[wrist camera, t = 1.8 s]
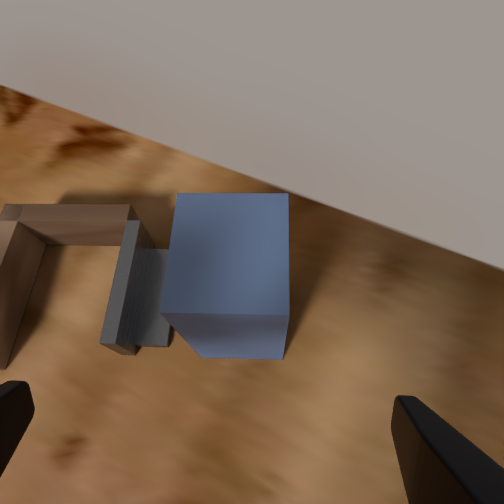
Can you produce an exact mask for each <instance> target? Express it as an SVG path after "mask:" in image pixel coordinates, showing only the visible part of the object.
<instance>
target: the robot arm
mask: <svg viewBox="0 0 504 504" xmlns="http://www.w3.org/2000/svg"><path fill="white" fill-rule="evenodd" d="M34 411H35V407H34V403H33V399H32V395H31V391H30V387H29V384H28V383H27V382H25V381H7V382H5V383H3V384H1V385H0V477H1V475H2V473H3V472H4V470H5V468H6V466H7V464H8V463H9V461H10V459H11V457H12V455H13V453H14V451H15V450H16V448H17V446H18V444H19V442H20V440H21V438H22V437H23V435H24V433H25V431H26V429H27V427H28V425H29V424H30V422H31V420H32V418H33V415H34ZM391 431H392V436H393V441H394V445H395V449H396V453H397V457H398V461H399V466H400V470H401V474H402V478H403V482H404V486H405V490H406V494H407V498H408V502H409V504H504V468H502V467H501V466H500V465H499V464H498V463H496V462H495V461H494V460H493V459H491V458H490V457H489V456H488V455H486V454H485V453H484V452H483V451H482V450H480V449H479V448H478V447H477V446H475V445H474V444H473V443H472V442H471V441H469V440H468V439H467V438H466V437H464V436H463V435H462V434H461V433H459V432H458V431H457V430H456V429H455V428H453V427H452V426H451V425H450V424H448V423H447V422H446V421H445V420H443V419H442V418H441V417H440V416H439V415H437V414H436V413H435V412H434V411H432V410H431V409H430V408H429V407H427V406H426V405H425V404H424V403H423V402H421V401H420V400H419V399H418V398H416V397H414V396H405V395H398V396H397V397H396V398H395V400H394V407H393V413H392V420H391Z"/></svg>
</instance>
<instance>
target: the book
mask: <svg viewBox="0 0 504 504" xmlns="http://www.w3.org/2000/svg"><path fill="white" fill-rule="evenodd" d="M159 313H160V314H161V315H162V316H163V317H164V318H165V319H166V320H167V322H168V323H169V324H170V325H171V326H172V327H173V328H174V329H175V330H176V331H177V332H178V333H179V334H180V335H181V336H182V337H183V338H184V340H185V341H186V342H187V343H188V344H189V345H190V346H191V347H192V348H193V349H194V350H195V351H196V352H197V353H198V354H199V355H200V356H201V357H205V358H239V359H273V360H283V354H284V348H285V341H286V335H287V329H288V322H289V316H290V301H289V201H288V193H177V199H176V205H175V212H174V218H173V225H172V231H171V237H170V244H169V250H168V257H167V263H166V269H165V276H164V282H163V289H162V295H161V301H160V308H159Z"/></svg>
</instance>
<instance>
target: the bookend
mask: <svg viewBox="0 0 504 504" xmlns="http://www.w3.org/2000/svg"><path fill="white" fill-rule="evenodd" d="M168 250H169V249H155V243H154V242H153V240H152V239H151V237H150V235H149V234H148V232H147V231H146V229H145V227H144V226H143V224H142V223H141V221H135V220H127V221H126V225H125V230H124V234H123V239H122V243H121V248H120V252H119V257H118V261H117V266H116V270H115V275H114V279H113V284H112V288H111V293H110V297H109V302H108V306H107V310H106V315H105V319H104V324H103V328H102V333H101V337H100V342H99V343H100V344H102V345H104V346H106V347H108V348H109V349H111V350H113V351H115V352H117V353H119V354H121V355H136V352H137V346H144V347H169V341H170V334H171V327H172V326H171V325H170V324H169V323H168V322H167V320H166V319H165V318H164V317H163V316H162V315H161V314H160V313H159V308H160V301H161V295H162V289H163V282H164V276H165V269H166V263H167V257H168Z"/></svg>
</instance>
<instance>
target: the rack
mask: <svg viewBox="0 0 504 504" xmlns="http://www.w3.org/2000/svg"><path fill="white" fill-rule="evenodd" d="M127 220H135V221H140V219H139V218H138V216H137V214H136V213H135V211H134V210H133V208H132V206H131V205H130V204H5V205H4V207H3V210H2V212H1V215H0V370H5V369H6V366H7V363H8V360H9V357H10V354H11V351H12V348H13V345H14V342H15V339H16V336H17V333H18V330H19V326H20V323H21V320H22V317H23V314H24V311H25V308H26V305H27V302H28V299H29V296H30V293H31V290H32V287H33V284H34V281H35V278H36V275H37V272H38V269H39V265H40V262H41V259H42V256H43V253H44V250H45V247H46V245H99V246H121V243H122V239H123V234H124V230H125V225H126V221H127ZM141 223H142V222H141Z"/></svg>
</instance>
